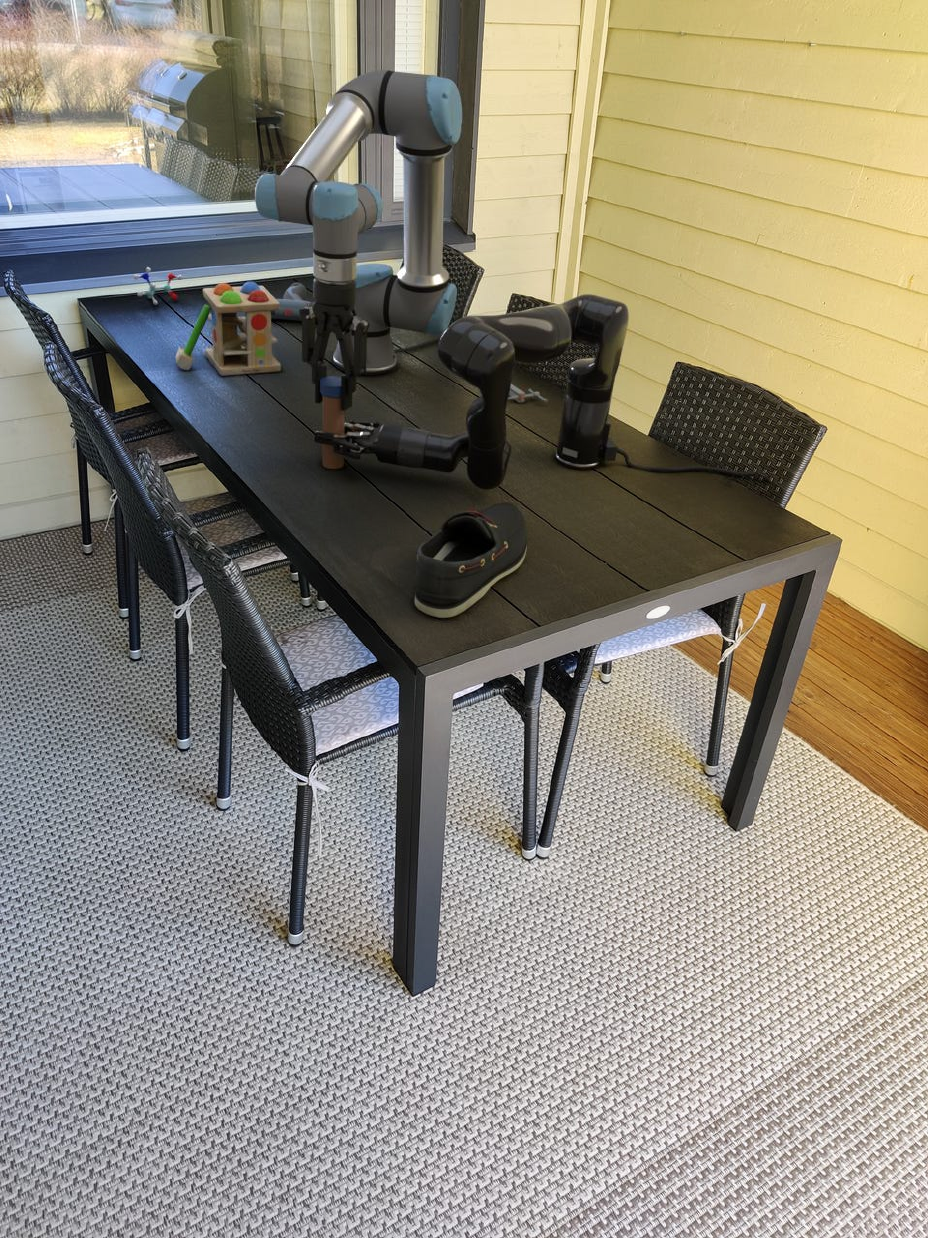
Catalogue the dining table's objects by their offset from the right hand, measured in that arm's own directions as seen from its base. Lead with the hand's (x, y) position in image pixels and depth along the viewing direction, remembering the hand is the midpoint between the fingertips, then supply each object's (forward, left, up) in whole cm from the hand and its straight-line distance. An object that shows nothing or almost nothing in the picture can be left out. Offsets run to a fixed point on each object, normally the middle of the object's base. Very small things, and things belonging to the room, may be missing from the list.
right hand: (319, 431), depth 189 cm
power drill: (-5, -93, -6) cm, 93 cm away
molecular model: (+35, -101, -6) cm, 107 cm away
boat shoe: (-21, +42, -6) cm, 48 cm away
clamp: (-48, -33, -6) cm, 58 cm away
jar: (-2, +1, -6) cm, 7 cm away
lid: (-2, +1, +10) cm, 11 cm away
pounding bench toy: (+17, -53, -6) cm, 56 cm away
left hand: (-2, +1, +6) cm, 7 cm away
